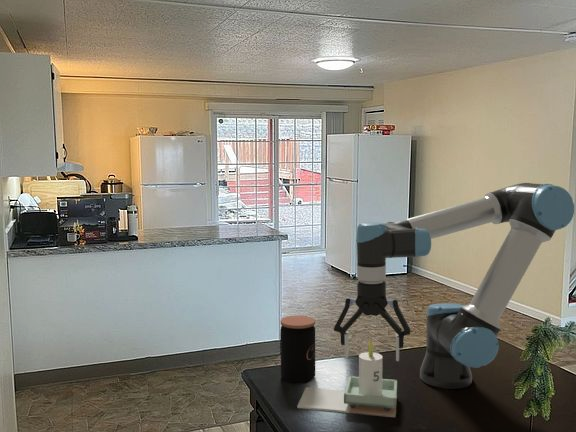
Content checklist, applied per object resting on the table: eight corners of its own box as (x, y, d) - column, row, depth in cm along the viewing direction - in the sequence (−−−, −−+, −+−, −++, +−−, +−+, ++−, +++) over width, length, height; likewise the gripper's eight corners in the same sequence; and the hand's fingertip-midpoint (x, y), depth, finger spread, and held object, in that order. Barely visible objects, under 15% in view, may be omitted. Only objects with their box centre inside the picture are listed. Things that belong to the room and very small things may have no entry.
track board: (396, 396, 153) (397, 395, 153) (395, 417, 140) (395, 415, 140) (306, 388, 158) (306, 387, 158) (297, 407, 146) (297, 406, 146)
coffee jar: (312, 385, 160) (312, 326, 159) (277, 383, 163) (276, 324, 161) (317, 372, 171) (317, 316, 169) (284, 369, 173) (284, 314, 171)
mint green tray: (396, 394, 152) (397, 380, 152) (395, 414, 140) (395, 398, 140) (349, 390, 155) (349, 376, 155) (343, 409, 143) (343, 394, 143)
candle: (365, 400, 144) (366, 345, 142) (354, 390, 150) (355, 337, 148) (386, 396, 146) (387, 342, 144) (375, 387, 152) (375, 335, 150)
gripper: (419, 278, 145) (419, 355, 148) (327, 276, 151) (328, 350, 153) (419, 285, 138) (419, 365, 140) (322, 282, 144) (324, 359, 146)
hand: (371, 357), depth 147 cm, fingers open, 13 cm apart
